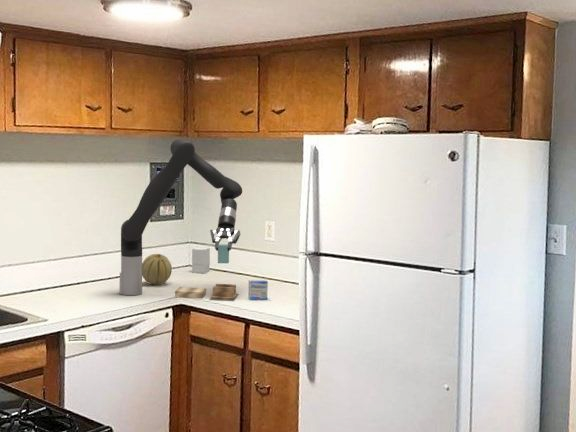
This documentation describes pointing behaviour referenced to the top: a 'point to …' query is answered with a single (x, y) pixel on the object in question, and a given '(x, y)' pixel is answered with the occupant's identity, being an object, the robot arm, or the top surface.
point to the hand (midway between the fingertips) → (222, 249)
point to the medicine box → (258, 289)
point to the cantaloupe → (156, 269)
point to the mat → (224, 300)
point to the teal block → (223, 253)
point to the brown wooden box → (224, 292)
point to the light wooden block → (190, 292)
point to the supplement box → (200, 260)
